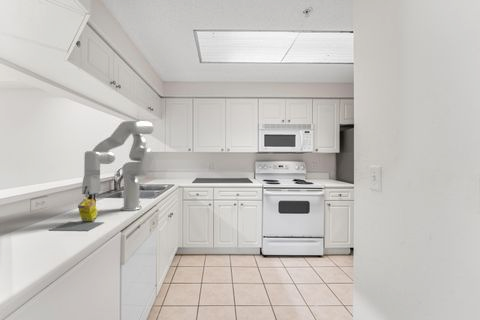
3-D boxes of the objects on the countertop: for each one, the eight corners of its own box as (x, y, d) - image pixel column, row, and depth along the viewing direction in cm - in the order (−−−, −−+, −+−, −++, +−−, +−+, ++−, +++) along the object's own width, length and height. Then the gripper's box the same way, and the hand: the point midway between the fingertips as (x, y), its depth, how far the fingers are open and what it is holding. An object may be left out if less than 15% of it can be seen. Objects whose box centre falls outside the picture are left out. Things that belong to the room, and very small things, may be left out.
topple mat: (69, 222, 132) (69, 221, 132) (104, 222, 132) (104, 222, 132) (48, 230, 118) (48, 229, 118) (87, 231, 118) (87, 230, 118)
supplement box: (93, 222, 133) (88, 205, 128) (82, 222, 132) (77, 205, 128) (98, 215, 138) (94, 199, 133) (87, 215, 138) (83, 199, 133)
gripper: (93, 172, 144) (93, 203, 144) (76, 174, 129) (76, 208, 129) (106, 172, 144) (106, 203, 144) (90, 174, 129) (90, 209, 129)
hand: (91, 206), depth 136 cm, fingers closed
